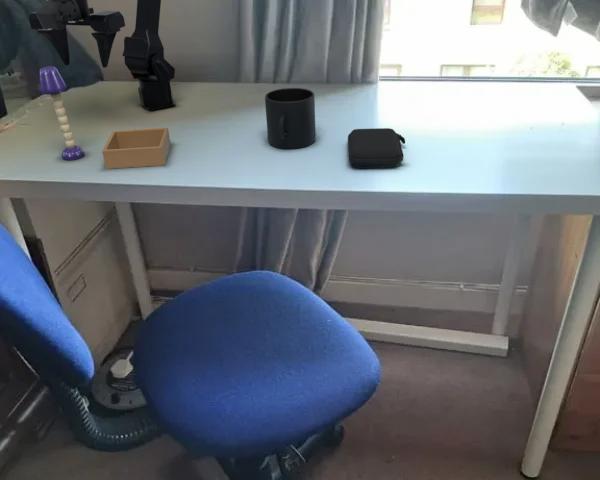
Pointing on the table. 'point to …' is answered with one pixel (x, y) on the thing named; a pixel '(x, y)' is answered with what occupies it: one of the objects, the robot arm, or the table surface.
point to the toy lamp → (59, 108)
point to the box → (137, 148)
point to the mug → (290, 117)
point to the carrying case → (375, 148)
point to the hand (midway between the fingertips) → (86, 66)
